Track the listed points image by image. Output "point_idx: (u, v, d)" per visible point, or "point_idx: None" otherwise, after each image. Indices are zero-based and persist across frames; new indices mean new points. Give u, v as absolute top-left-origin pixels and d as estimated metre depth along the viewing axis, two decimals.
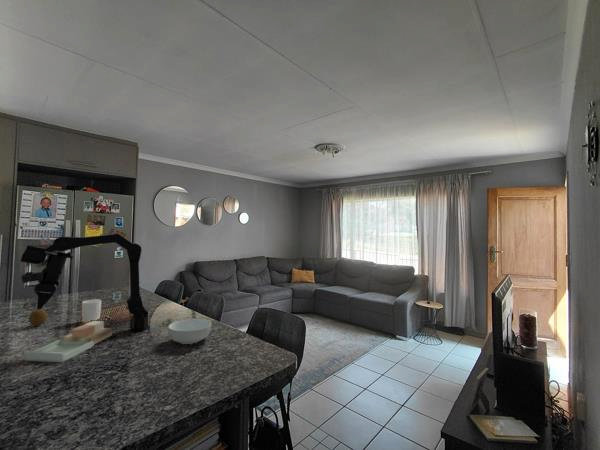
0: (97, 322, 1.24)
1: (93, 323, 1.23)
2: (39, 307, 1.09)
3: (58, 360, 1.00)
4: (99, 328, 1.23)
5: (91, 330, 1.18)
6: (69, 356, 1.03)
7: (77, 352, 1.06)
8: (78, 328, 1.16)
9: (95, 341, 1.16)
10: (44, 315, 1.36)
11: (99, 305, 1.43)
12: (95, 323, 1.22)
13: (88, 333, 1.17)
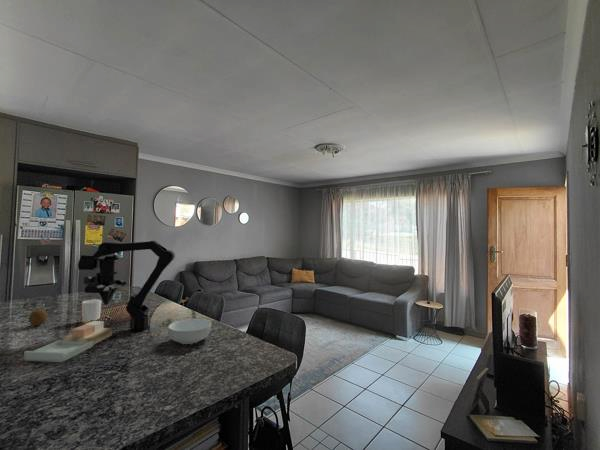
0: (97, 322, 1.24)
1: (93, 323, 1.23)
2: (105, 303, 1.29)
3: (58, 360, 1.00)
4: (99, 328, 1.23)
5: (91, 330, 1.18)
6: (69, 356, 1.03)
7: (77, 352, 1.06)
8: (78, 328, 1.16)
9: (95, 341, 1.16)
10: (44, 315, 1.36)
11: (99, 305, 1.43)
12: (95, 323, 1.22)
13: (88, 333, 1.17)
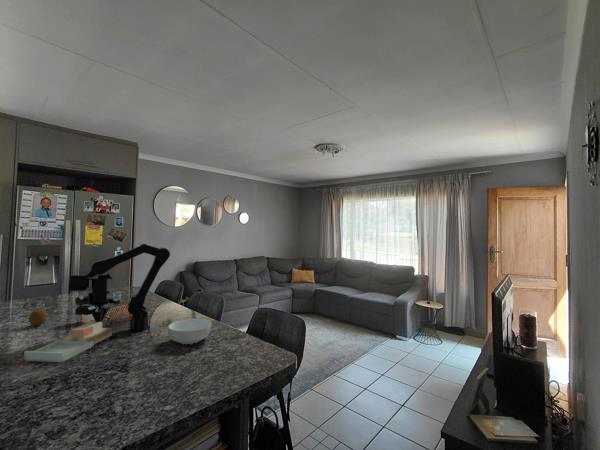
0: (95, 322, 1.23)
1: (92, 323, 1.22)
2: None
3: (58, 360, 1.00)
4: (98, 329, 1.22)
5: (90, 330, 1.18)
6: (69, 356, 1.03)
7: (77, 352, 1.06)
8: (77, 328, 1.16)
9: (95, 341, 1.16)
10: (44, 315, 1.36)
11: None
12: (94, 324, 1.21)
13: (87, 333, 1.16)
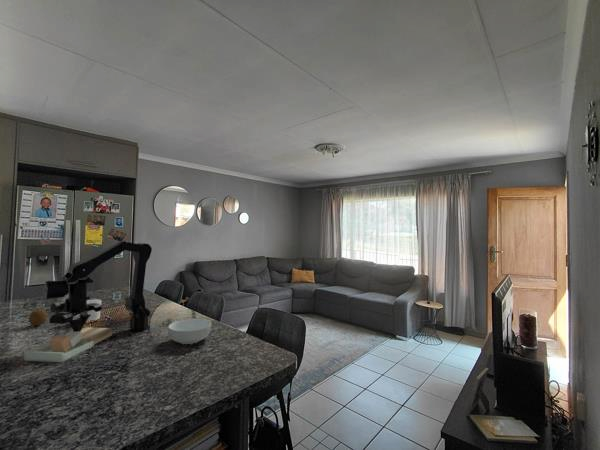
0: (73, 333, 1.12)
1: (70, 336, 1.11)
2: None
3: (58, 360, 1.00)
4: (77, 340, 1.12)
5: (65, 341, 1.07)
6: (69, 356, 1.03)
7: (77, 352, 1.06)
8: (55, 349, 1.06)
9: (95, 341, 1.16)
10: (44, 315, 1.36)
11: None
12: (71, 336, 1.10)
13: (68, 343, 1.08)
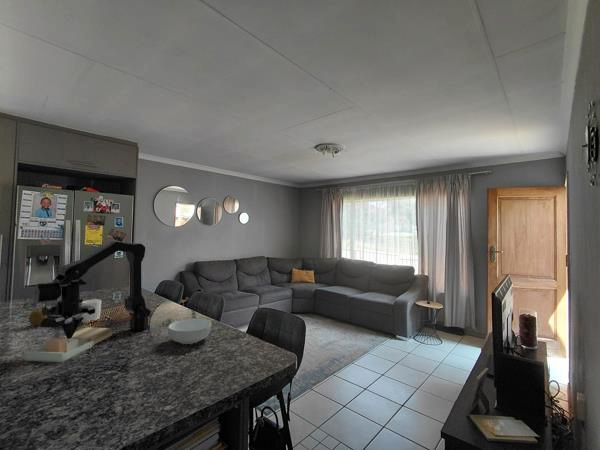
0: (70, 339, 1.11)
1: (66, 341, 1.09)
2: (68, 337, 1.10)
3: (58, 360, 1.00)
4: (73, 347, 1.09)
5: (62, 343, 1.05)
6: (69, 356, 1.03)
7: (77, 352, 1.06)
8: (49, 351, 1.04)
9: (95, 341, 1.16)
10: None
11: (99, 305, 1.43)
12: (68, 341, 1.09)
13: (64, 346, 1.06)
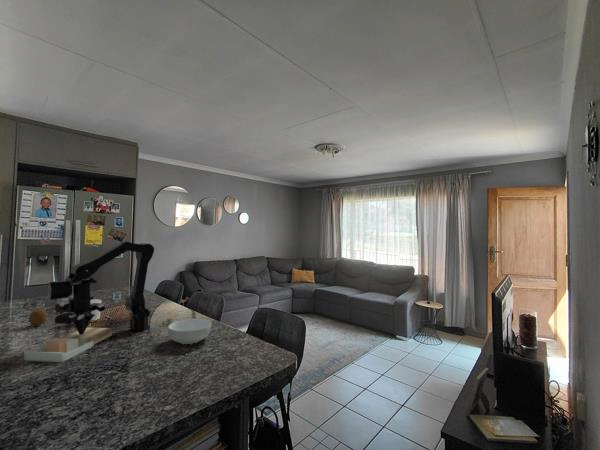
0: (70, 339, 1.11)
1: (66, 341, 1.09)
2: (80, 332, 1.16)
3: (58, 360, 1.00)
4: (73, 347, 1.09)
5: (62, 343, 1.05)
6: (69, 356, 1.03)
7: (77, 352, 1.06)
8: (49, 351, 1.04)
9: (95, 341, 1.16)
10: (44, 315, 1.36)
11: None
12: (68, 341, 1.09)
13: (64, 346, 1.06)
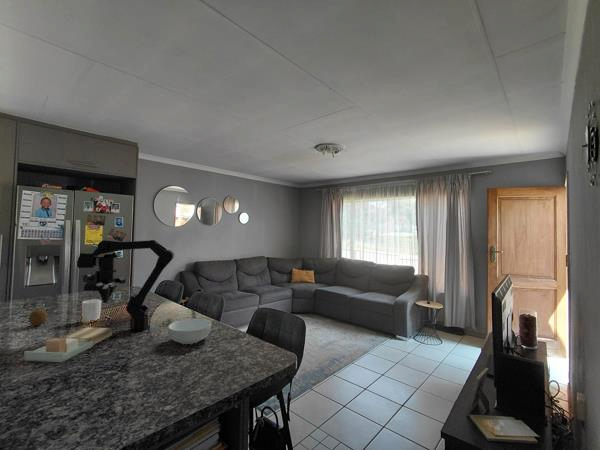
0: (70, 339, 1.11)
1: (66, 341, 1.09)
2: (104, 301, 1.29)
3: (58, 360, 1.00)
4: (73, 347, 1.09)
5: (62, 343, 1.05)
6: (69, 356, 1.03)
7: (77, 352, 1.06)
8: (49, 351, 1.04)
9: (95, 341, 1.16)
10: (44, 315, 1.36)
11: (99, 305, 1.43)
12: (68, 341, 1.09)
13: (64, 346, 1.06)
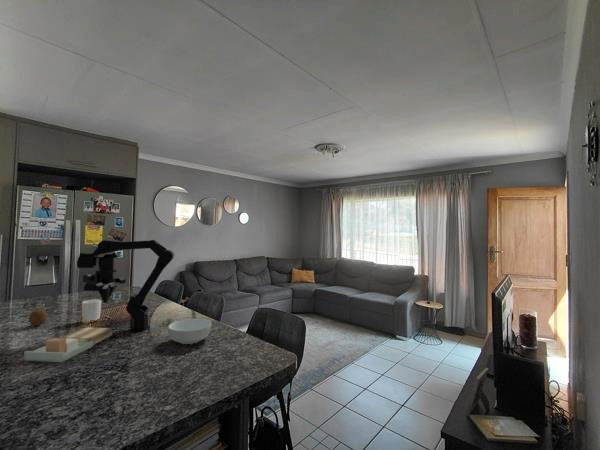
0: (70, 339, 1.11)
1: (66, 341, 1.09)
2: (104, 301, 1.29)
3: (58, 360, 1.00)
4: (73, 347, 1.09)
5: (62, 343, 1.05)
6: (69, 356, 1.03)
7: (77, 352, 1.06)
8: (49, 351, 1.04)
9: (95, 341, 1.16)
10: (44, 315, 1.36)
11: (99, 305, 1.43)
12: (68, 341, 1.09)
13: (64, 346, 1.06)
